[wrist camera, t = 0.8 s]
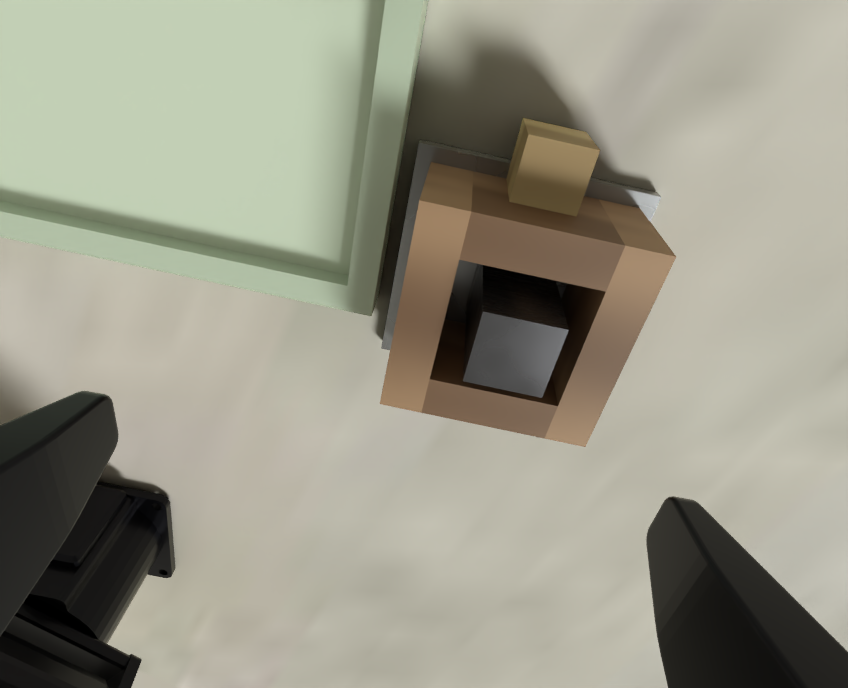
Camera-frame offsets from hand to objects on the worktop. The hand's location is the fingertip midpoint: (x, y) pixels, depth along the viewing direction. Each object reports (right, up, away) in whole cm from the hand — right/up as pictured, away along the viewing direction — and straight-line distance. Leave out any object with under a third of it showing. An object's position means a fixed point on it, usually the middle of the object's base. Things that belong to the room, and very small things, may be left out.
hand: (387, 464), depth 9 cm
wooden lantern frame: (+4, +4, +11) cm, 12 cm away
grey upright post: (+4, +4, +11) cm, 13 cm away
